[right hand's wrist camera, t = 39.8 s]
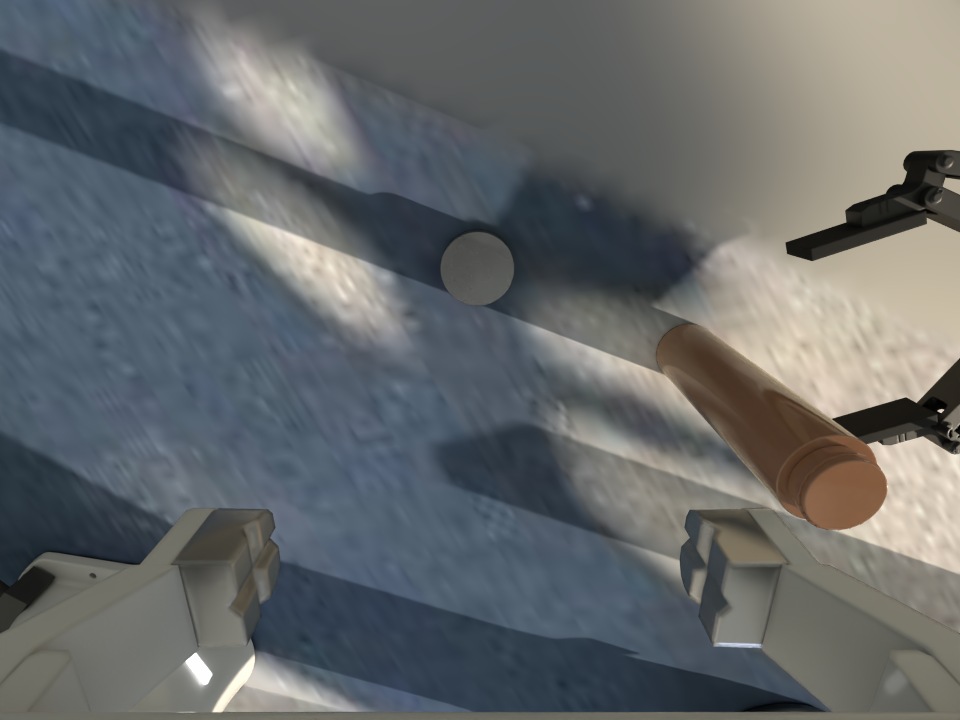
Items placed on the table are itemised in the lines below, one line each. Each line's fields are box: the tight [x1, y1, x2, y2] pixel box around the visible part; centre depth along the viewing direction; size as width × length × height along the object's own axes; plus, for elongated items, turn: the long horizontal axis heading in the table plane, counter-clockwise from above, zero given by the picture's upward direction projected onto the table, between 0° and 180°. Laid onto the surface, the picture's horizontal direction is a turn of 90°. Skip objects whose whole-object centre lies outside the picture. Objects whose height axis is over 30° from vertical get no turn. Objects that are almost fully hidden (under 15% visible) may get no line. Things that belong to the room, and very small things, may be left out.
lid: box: [440, 229, 514, 306], centre depth 38 cm, size 5×5×2 cm
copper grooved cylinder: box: [656, 324, 888, 530], centre depth 32 cm, size 5×5×19 cm
